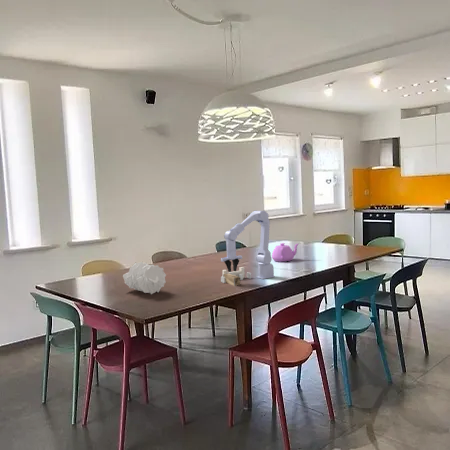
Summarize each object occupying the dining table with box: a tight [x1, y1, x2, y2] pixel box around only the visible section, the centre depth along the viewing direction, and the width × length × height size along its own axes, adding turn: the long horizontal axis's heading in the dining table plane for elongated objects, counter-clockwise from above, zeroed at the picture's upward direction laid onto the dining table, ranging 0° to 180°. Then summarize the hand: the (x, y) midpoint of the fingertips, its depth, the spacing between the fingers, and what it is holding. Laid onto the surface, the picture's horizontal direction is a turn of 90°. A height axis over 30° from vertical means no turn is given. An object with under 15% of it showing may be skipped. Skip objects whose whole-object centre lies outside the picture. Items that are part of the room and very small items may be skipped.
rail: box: [222, 274, 241, 287], centre depth 293 cm, size 4×15×5 cm, turn 28°
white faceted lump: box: [122, 261, 167, 295], centre depth 281 cm, size 18×18×25 cm
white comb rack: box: [220, 266, 252, 284], centre depth 303 cm, size 21×6×7 cm, turn 120°
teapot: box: [271, 242, 299, 263], centre depth 367 cm, size 22×22×14 cm
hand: (232, 271), depth 293 cm, fingers open, 3 cm apart
